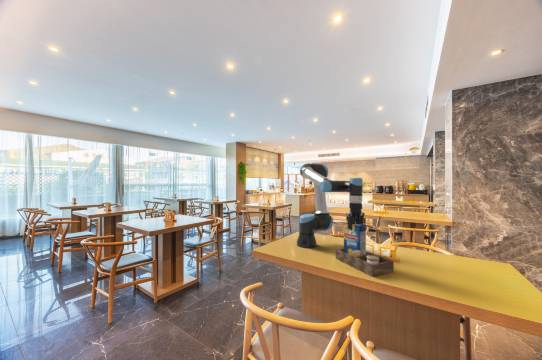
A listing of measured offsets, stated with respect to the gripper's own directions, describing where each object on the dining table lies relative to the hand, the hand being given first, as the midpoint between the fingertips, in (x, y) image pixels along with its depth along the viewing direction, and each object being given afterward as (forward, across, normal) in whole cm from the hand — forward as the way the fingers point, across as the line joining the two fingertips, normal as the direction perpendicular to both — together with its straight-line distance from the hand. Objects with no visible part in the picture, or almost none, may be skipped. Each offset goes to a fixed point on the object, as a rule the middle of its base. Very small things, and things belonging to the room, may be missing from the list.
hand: (355, 240), depth 135 cm
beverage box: (+12, 0, 0) cm, 12 cm away
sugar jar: (+13, 0, -13) cm, 19 cm away
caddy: (+13, 0, -6) cm, 14 cm away
